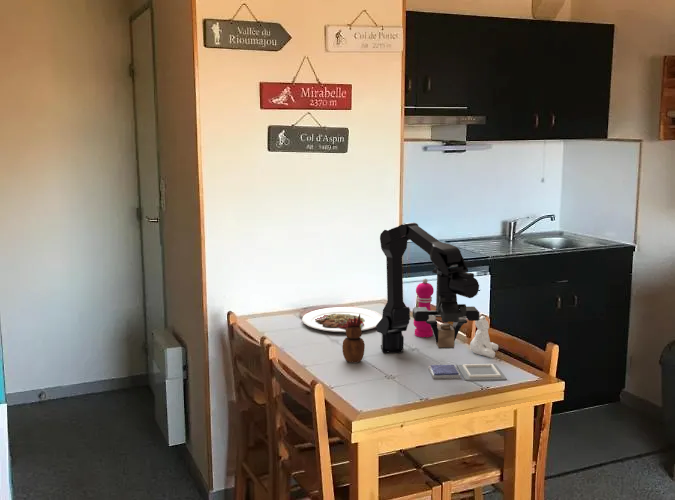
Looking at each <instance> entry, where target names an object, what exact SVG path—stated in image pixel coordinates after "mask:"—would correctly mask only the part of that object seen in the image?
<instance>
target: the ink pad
mask: <svg viewBox="0 0 675 500" xmlns="http://www.w3.org/2000/svg"><path fill="white" fill-rule="evenodd" d="M427 367H428V371H429V373H430V375H431V377H432V379H433V380H435V379H436V380H437V379H439V380H441V379H462V378H461V377H462V374H461V372H460V371H459V369H458V367H457V365H455V364H430V365H428V366H427Z"/></svg>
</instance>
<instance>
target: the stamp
mask: <svg viewBox="0 0 675 500" xmlns="http://www.w3.org/2000/svg"><path fill="white" fill-rule="evenodd" d="M437 332H438V343H436V342H435V344H436V346H437V348H438V349H439V350H442V349H446V350H447V349H455V342H454V335H455V330H454V329H453V325H451V324H450V323H448V322H442V323H440V325H437Z"/></svg>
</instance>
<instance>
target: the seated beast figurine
mask: <svg viewBox="0 0 675 500" xmlns="http://www.w3.org/2000/svg"><path fill="white" fill-rule="evenodd" d="M474 323H475V327H476V328H477V330H476V331H475V335H474V337H473V338H472V340H471V341H470V343H469V348H470V350H471V352H473V353H474V354H477V355H480V356H483V357H486V358H490V359H493V358H495V356H496V352H495V351H499V344H497V343H495V342H493V341H492V342H491V340H490V335H489V329H490V325H489V321H488V320H487V318H486V316H485V315H480V320H479V321H474Z"/></svg>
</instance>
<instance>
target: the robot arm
mask: <svg viewBox="0 0 675 500" xmlns="http://www.w3.org/2000/svg"><path fill="white" fill-rule="evenodd" d="M379 241H380V247H381V248H380V249H381V251H382V252H383V254H384V255H385V257H386V289H387V290H386V294H387V296H386V297H387V299H386V300H387V302H386V303H385V305H384V307H383V309H382V314H381V315H382V319H381V320H380V321H379V323H378V324H377V325H376V327H375V328H376V333H379V334H381V344H380V349H381V352H382V353H388V354H389V353H403V352H404V351H403V349H404V341H405V339H404V334H403V332H406V331H407V329H408V326H409V324H410V320H411V315H410V313H411V309H410V307H409V306H407V305H406V304H405V302H404V282H403V281H404V279H403V276H404V275H403V256H404V254H405V252H406V250H407V248H408V241H411V242H412V243H413V244H415V245H416V246H417V247H419V248H420V249H422V250H423V251H424V253H425V252H426V253H427V255H429V259H430V261H431V262H432V264H434V265H435V268H434V269H432V270H431V272H432V273H433V274H435V275H436V292H435V293H436V296H435V297H436V298H435V301H436V303H435V310H431V311H428V309H427V308H426V307H419V306H414V308H413V309H412V317H413V321H414V320H415V321H426V323H427V324H430V325H431V328H432V331H433V337H434V340H435V344H436V343H438V332H437V326H438V321H437V320H436V319H437V318H441V321H442V323H452V327H453V329H454V330H455V335H454V343H456V342H455V341H456V339H457V337H458V335H459V333H460V329H461V328H462V326H464V324H468V321H469V322H470V321H471V322H472V321H473V322H475V321H479V320H480V317H481V313H480V311H479V310H478V309H477V308H476V307H475V306H467V305H466V303H458V298H457V295H458V296H461V297H464V298H467V299H472V298H474V297H475V296H477V295H478V294H479V290H480V284H479V281H478V279H476V278H475V274H474V273H472V272H469V269H468V266H467V264H466V262H465V259H464V257H463V255H462V253H461V249H460V248H459V247H457V246H455V245H452V244H451V243H446V242H442V241H440V240H438V239H437V238H436V237H434V236H433V235H431V234H430V233H429V232H427V231H426V230H424V229H423V228H421V227H420V226H419V224H418V223H416V222H414V221H413V222H404V223H401V224H400V225H398V226H396V227H393V228H391V229H384V230H382V232H381V233H380V236H379Z"/></svg>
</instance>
